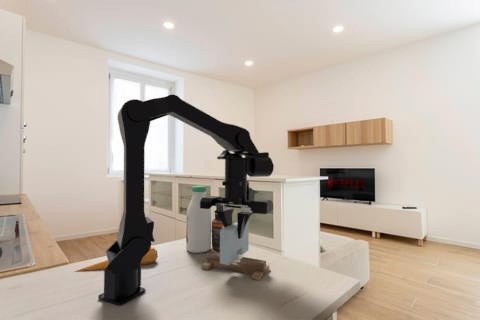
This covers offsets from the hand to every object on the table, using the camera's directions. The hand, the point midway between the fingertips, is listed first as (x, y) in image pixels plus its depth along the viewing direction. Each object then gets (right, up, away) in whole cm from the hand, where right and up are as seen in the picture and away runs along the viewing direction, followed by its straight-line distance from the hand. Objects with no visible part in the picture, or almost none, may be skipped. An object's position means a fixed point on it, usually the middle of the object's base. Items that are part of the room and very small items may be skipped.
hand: (235, 237), depth 67 cm
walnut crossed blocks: (0, -8, 0) cm, 8 cm away
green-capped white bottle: (-12, -8, +15) cm, 21 cm away
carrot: (-31, -8, +2) cm, 32 cm away
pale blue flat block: (0, -5, 0) cm, 5 cm away
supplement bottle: (-5, -9, +17) cm, 19 cm away
